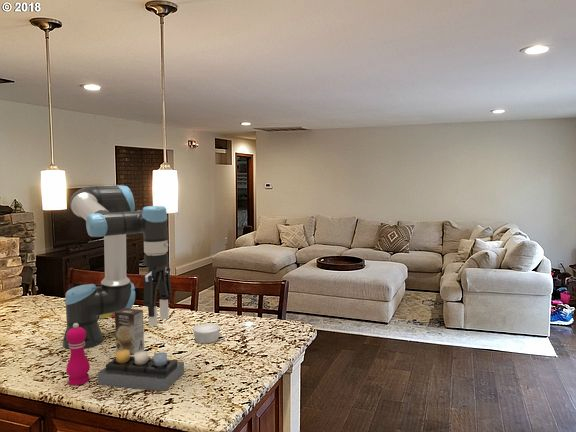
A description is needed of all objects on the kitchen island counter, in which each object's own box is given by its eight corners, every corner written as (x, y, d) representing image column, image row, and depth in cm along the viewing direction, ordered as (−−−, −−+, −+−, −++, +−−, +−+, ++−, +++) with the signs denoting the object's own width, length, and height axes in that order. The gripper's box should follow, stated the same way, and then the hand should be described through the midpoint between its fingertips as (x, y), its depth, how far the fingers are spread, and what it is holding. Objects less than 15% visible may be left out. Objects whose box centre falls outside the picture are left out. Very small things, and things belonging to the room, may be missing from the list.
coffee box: (115, 352, 181) (113, 311, 179) (126, 346, 187) (124, 307, 185) (135, 354, 178) (133, 314, 176) (145, 348, 184) (143, 309, 182)
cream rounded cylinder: (132, 374, 155) (131, 355, 154) (139, 369, 159) (138, 350, 159) (144, 375, 154) (143, 356, 154) (151, 370, 158) (150, 351, 158)
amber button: (113, 372, 157) (113, 353, 156) (121, 367, 161) (120, 349, 160) (125, 373, 156) (124, 354, 155) (132, 368, 160) (132, 349, 159)
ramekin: (214, 345, 187) (214, 332, 186) (188, 343, 189) (188, 331, 188) (224, 336, 198) (223, 324, 197) (199, 334, 200) (199, 322, 199)
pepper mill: (71, 377, 159) (68, 320, 157) (93, 376, 159) (90, 319, 158) (63, 386, 152) (59, 327, 150) (86, 385, 152) (83, 326, 150)
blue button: (151, 376, 154) (150, 356, 153) (158, 370, 158) (157, 351, 157) (163, 377, 153) (163, 357, 152) (170, 371, 157) (169, 352, 156)
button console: (98, 384, 153) (97, 368, 152) (122, 367, 166) (121, 352, 166) (164, 391, 147) (164, 374, 147) (184, 372, 161) (183, 357, 161)
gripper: (151, 259, 141) (154, 332, 143) (180, 248, 160) (182, 313, 162) (129, 258, 143) (132, 331, 145) (160, 248, 162) (163, 312, 164)
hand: (159, 322), depth 154 cm, fingers open, 7 cm apart
